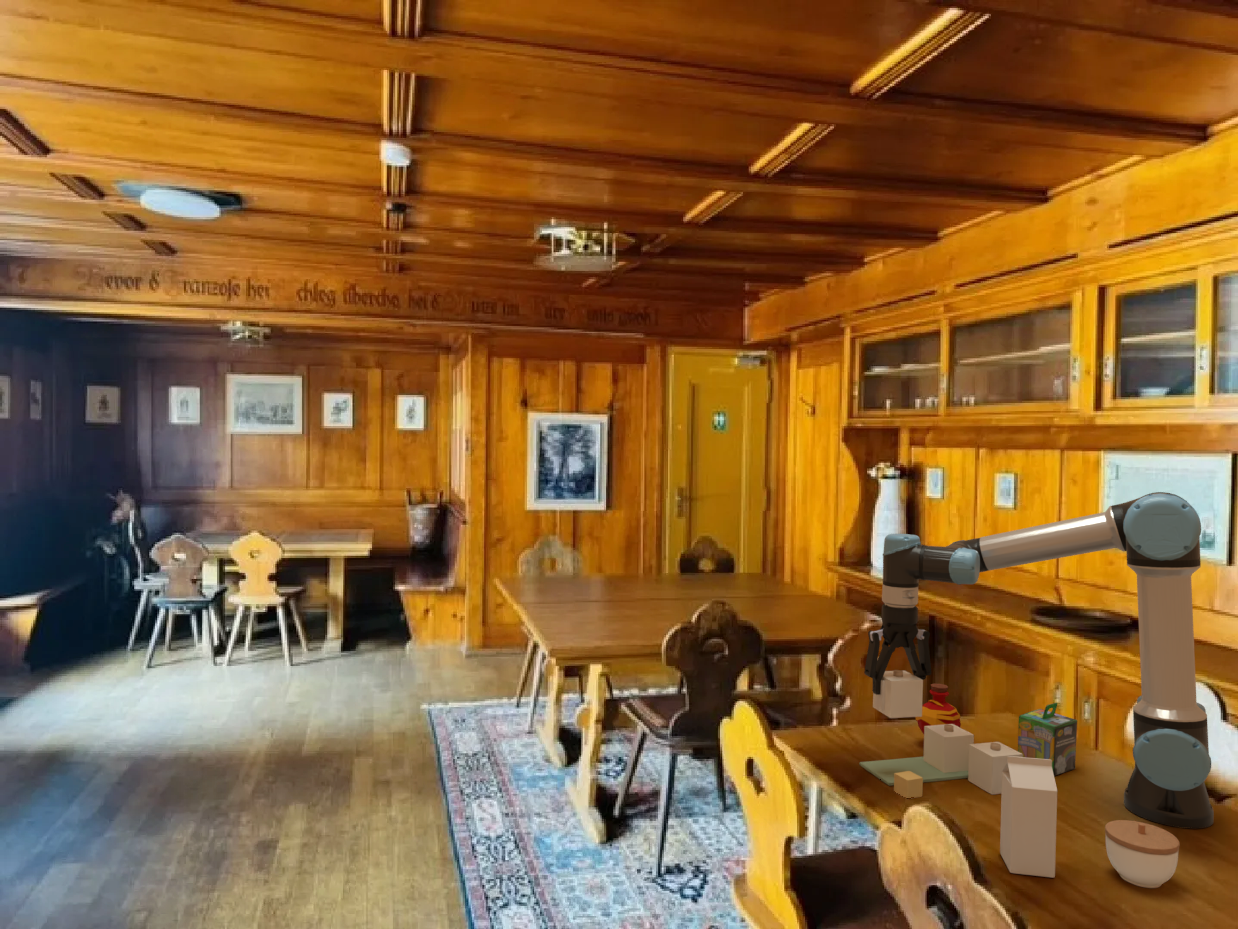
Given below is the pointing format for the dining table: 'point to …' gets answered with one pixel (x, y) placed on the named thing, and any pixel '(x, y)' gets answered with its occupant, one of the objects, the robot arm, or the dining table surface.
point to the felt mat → (915, 765)
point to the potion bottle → (938, 709)
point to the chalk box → (1048, 738)
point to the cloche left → (902, 694)
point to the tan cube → (908, 784)
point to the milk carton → (1028, 816)
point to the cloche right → (989, 765)
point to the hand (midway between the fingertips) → (897, 707)
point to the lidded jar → (1141, 852)
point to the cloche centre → (947, 747)
